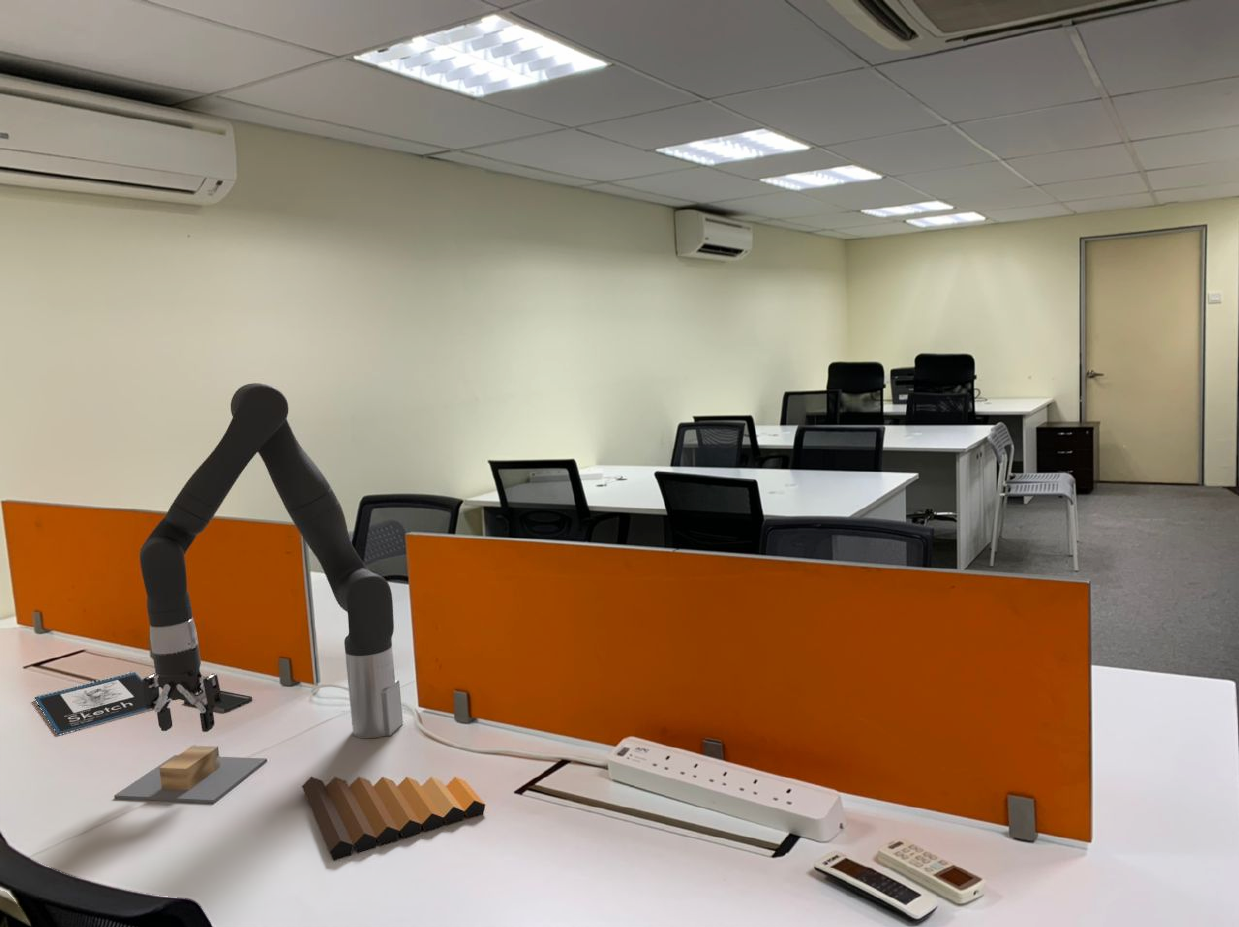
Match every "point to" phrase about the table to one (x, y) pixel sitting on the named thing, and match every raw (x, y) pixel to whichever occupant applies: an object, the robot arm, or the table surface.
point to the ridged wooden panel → (385, 810)
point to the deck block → (189, 767)
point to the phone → (228, 701)
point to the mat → (203, 792)
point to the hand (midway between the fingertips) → (187, 729)
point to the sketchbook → (94, 703)
